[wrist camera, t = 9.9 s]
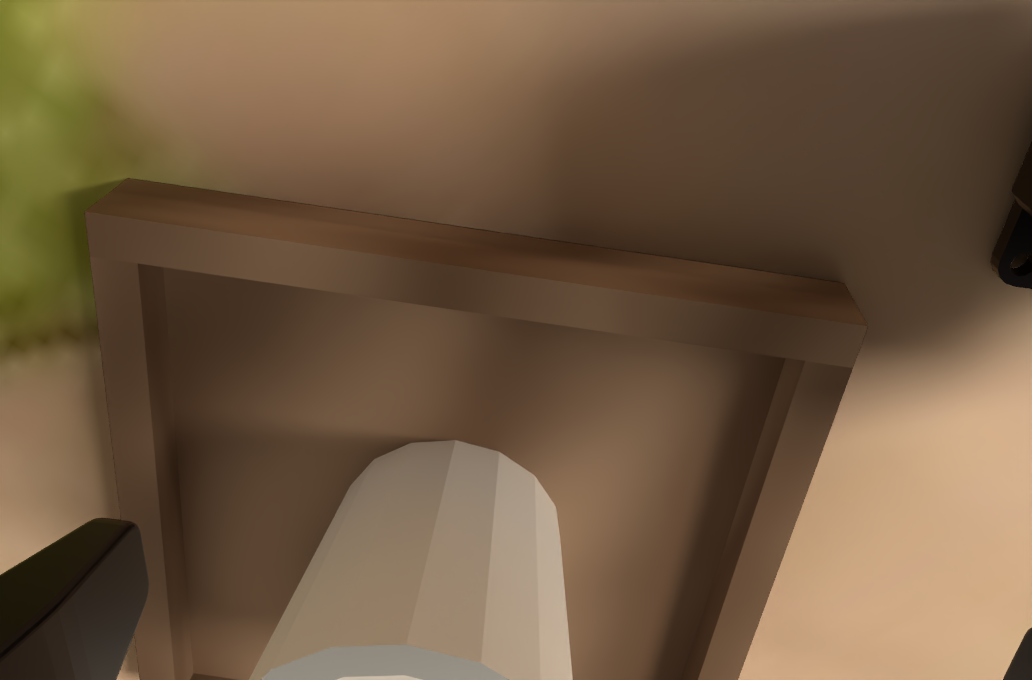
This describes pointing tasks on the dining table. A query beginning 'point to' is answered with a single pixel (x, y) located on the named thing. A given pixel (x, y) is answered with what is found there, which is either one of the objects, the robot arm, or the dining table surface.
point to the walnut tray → (453, 412)
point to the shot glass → (431, 577)
